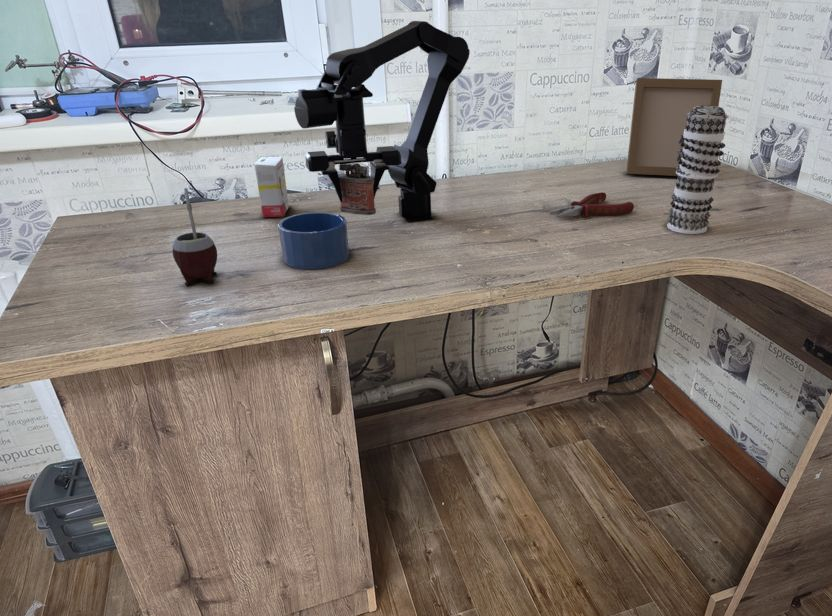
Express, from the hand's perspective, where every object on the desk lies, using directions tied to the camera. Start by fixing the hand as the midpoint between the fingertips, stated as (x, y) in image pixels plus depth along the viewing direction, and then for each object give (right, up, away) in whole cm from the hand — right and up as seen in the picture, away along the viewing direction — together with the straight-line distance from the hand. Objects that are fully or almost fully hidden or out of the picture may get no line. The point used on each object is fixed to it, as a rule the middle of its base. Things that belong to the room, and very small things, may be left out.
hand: (357, 200), depth 132 cm
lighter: (0, -2, +1) cm, 3 cm away
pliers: (+51, +1, +16) cm, 54 cm away
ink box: (-21, 0, +14) cm, 26 cm away
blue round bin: (-6, -14, -10) cm, 18 cm away
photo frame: (+80, +19, +48) cm, 95 cm away
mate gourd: (-24, -19, -20) cm, 37 cm away
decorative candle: (+71, -5, +6) cm, 72 cm away
